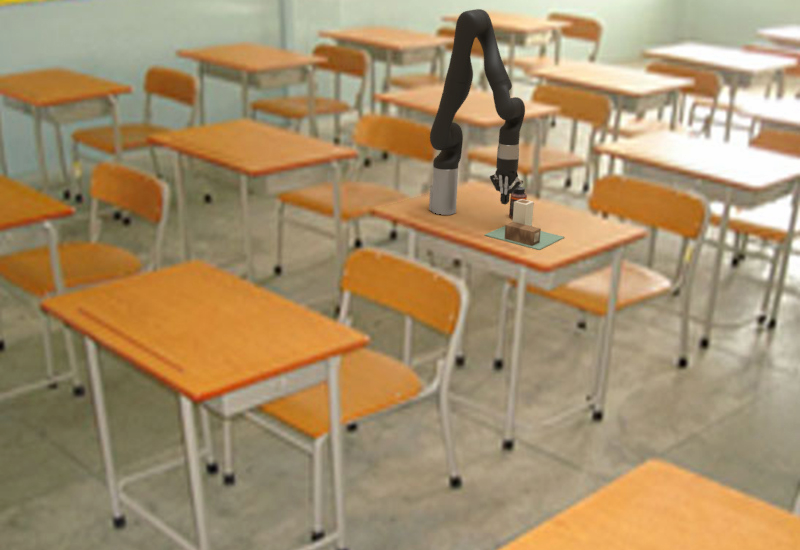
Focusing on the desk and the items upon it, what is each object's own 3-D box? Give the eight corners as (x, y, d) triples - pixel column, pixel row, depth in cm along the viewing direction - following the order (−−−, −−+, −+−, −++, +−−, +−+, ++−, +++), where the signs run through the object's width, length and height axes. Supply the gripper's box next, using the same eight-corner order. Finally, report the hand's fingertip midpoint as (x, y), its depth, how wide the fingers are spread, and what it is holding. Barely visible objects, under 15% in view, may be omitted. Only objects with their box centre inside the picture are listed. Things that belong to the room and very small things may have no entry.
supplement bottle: (524, 220, 359) (526, 190, 354) (508, 219, 360) (510, 189, 355) (525, 215, 364) (528, 186, 360) (509, 214, 365) (511, 185, 361)
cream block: (511, 231, 345) (514, 201, 341) (519, 228, 349) (521, 198, 345) (524, 235, 342) (526, 204, 338) (531, 231, 346) (533, 201, 342)
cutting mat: (484, 235, 342) (484, 234, 341) (510, 224, 354) (510, 223, 354) (539, 250, 329) (539, 249, 329) (564, 237, 342) (564, 236, 341)
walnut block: (505, 224, 336) (533, 232, 330) (513, 221, 340) (540, 228, 333) (504, 238, 338) (532, 246, 332) (512, 235, 342) (539, 242, 335)
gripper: (485, 154, 341) (483, 202, 348) (518, 161, 334) (514, 209, 340) (497, 150, 347) (494, 197, 353) (529, 157, 339) (526, 205, 346)
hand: (504, 203), depth 347 cm, fingers closed
